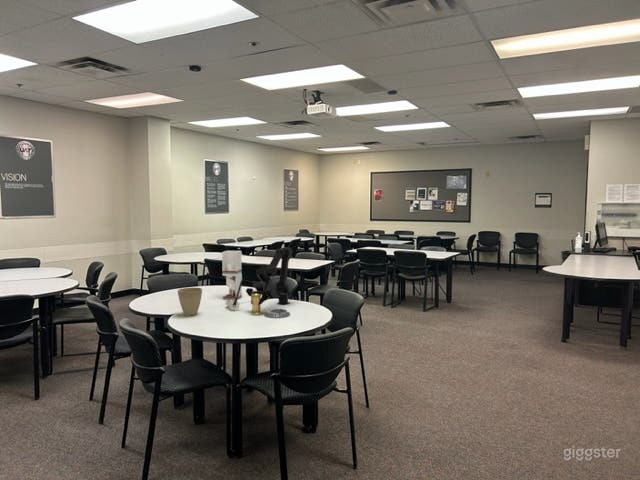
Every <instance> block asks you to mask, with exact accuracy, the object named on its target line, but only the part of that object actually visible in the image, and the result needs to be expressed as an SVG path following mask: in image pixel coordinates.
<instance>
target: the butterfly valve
mask: <svg viewBox="0 0 640 480" xmlns="http://www.w3.org/2000/svg"><path fill="white" fill-rule="evenodd" d="M243 282H244V280H242V281H241V282H240V285H239V288H238V292H237V295H236V298H235V300H225V305H226V306H228V308H229V309H230V310H231V311H235V312H237V311H238V310H239V309H240V308H241V307H240V302H239V301H238V300H239V299H238V295H239V292H240V288H241V285H242V284H243ZM242 286H243V285H242ZM237 299H238V300H237Z"/></svg>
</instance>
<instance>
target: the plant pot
mask: <svg viewBox="0 0 640 480" xmlns="http://www.w3.org/2000/svg"><path fill="white" fill-rule="evenodd" d="M202 293H203V288H201V287H183V288H179V289H177V295H178V300H179V304H180V307H181V309H182V312H183V314H184V316H185V315H187V316H186V317H192V316H191V315H194V316H196V314H198V311H199V308H200V305H201V300H202V295H203V294H202Z"/></svg>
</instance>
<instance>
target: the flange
mask: <svg viewBox="0 0 640 480" xmlns="http://www.w3.org/2000/svg"><path fill="white" fill-rule="evenodd" d="M263 315H264V317H265V318H269V319H283V318H287V317H289V316H290V315H291V312H290V311H288V310H287V309H284V308H272V309H267V311H266V312H264V314H263Z"/></svg>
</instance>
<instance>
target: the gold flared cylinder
mask: <svg viewBox="0 0 640 480" xmlns="http://www.w3.org/2000/svg"><path fill="white" fill-rule="evenodd" d="M261 297H262V295H261V293H252V304H251V305H252V308H251V311H252V312H251V315H252V316H261V315H262V311H261V310H262V309H261V307H262V304H260V305H259V301H260V299H261Z"/></svg>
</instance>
